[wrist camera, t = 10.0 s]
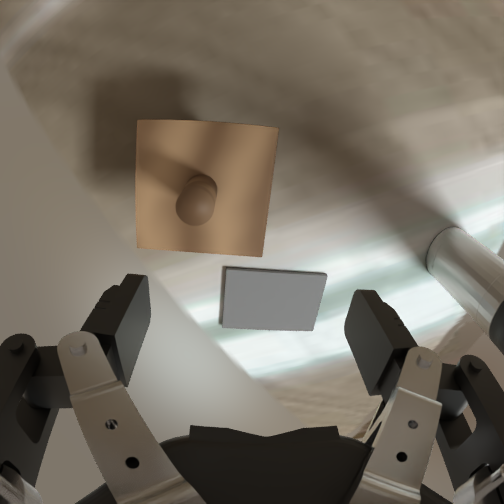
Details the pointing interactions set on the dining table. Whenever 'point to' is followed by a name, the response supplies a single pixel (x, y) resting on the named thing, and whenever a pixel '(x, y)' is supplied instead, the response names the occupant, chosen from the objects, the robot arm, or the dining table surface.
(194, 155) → the lid
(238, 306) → the mat
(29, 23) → the dining table surface
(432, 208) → the dining table surface
